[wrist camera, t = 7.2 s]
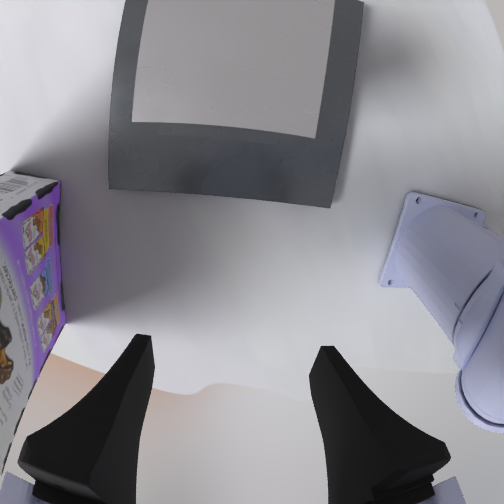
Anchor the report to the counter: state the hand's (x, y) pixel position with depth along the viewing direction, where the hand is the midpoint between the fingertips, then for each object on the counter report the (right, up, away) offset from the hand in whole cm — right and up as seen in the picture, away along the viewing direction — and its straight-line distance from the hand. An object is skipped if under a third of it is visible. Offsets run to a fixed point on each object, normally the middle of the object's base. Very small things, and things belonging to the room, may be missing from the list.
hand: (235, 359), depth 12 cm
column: (0, +12, -1) cm, 12 cm away
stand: (0, +14, +3) cm, 15 cm away
